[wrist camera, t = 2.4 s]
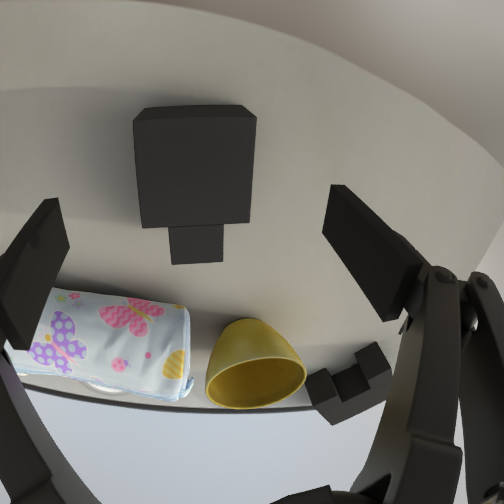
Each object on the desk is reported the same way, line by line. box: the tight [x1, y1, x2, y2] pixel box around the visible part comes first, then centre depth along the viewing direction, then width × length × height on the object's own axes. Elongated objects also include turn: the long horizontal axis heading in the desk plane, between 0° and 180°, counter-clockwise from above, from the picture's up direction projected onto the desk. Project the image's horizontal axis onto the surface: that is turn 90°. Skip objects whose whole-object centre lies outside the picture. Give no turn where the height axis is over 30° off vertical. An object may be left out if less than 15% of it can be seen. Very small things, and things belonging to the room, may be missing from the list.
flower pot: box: [205, 318, 307, 409], centre depth 31 cm, size 10×10×7 cm
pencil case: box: [4, 287, 194, 402], centre depth 24 cm, size 21×9×10 cm, turn 75°
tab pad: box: [133, 105, 257, 265], centre depth 21 cm, size 7×10×5 cm
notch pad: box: [304, 342, 393, 426], centre depth 44 cm, size 12×12×5 cm
